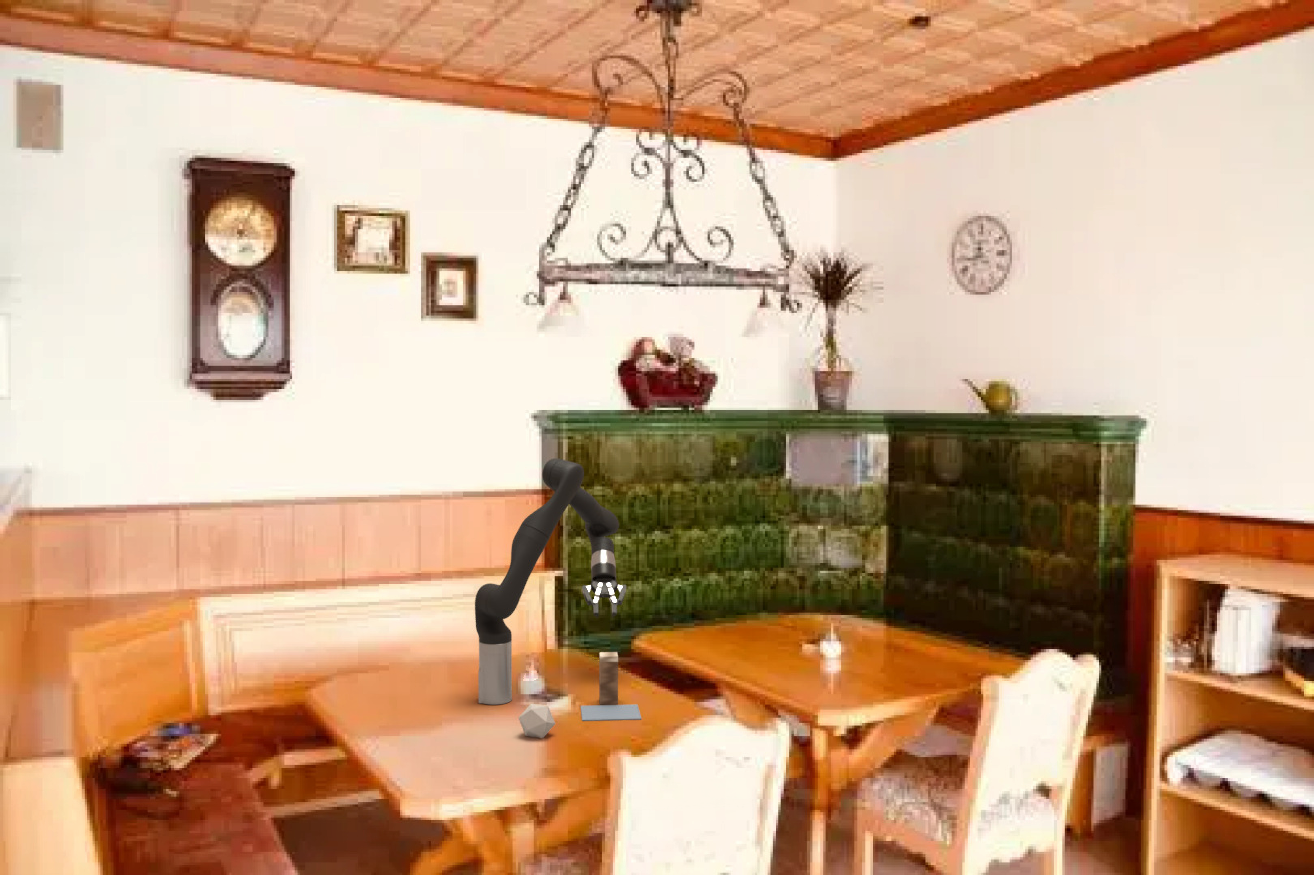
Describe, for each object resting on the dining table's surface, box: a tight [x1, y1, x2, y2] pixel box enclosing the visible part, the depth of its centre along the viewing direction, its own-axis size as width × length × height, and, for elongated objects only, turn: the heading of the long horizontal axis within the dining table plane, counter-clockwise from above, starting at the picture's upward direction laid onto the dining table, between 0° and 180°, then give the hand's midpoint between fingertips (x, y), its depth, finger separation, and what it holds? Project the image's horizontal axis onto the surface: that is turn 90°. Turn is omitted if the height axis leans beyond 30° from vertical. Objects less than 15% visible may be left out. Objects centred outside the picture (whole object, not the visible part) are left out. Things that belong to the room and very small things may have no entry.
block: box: [598, 651, 619, 705], centre depth 322 cm, size 5×5×14 cm
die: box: [518, 703, 556, 739], centre depth 294 cm, size 8×9×10 cm
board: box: [580, 703, 642, 722], centre depth 313 cm, size 16×13×1 cm
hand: (605, 615), depth 340 cm, fingers open, 4 cm apart
